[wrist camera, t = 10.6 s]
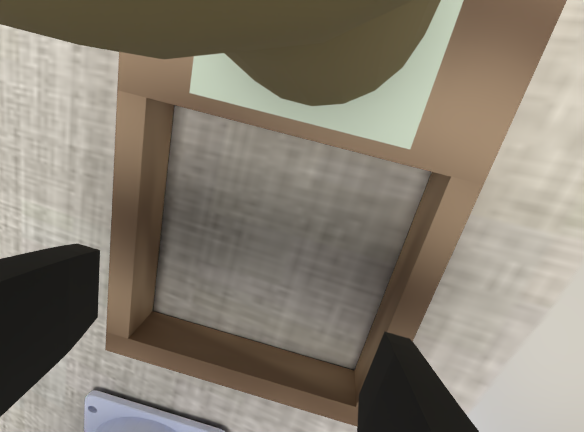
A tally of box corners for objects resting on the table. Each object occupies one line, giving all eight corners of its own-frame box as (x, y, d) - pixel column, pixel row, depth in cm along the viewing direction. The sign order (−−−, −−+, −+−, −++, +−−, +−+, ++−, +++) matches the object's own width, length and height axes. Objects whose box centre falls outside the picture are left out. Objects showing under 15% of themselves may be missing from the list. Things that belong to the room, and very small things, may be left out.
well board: (368, 392, 16) (372, 435, 14) (132, 321, 17) (102, 353, 15) (596, -148, 9) (670, -219, 7) (175, -233, 10) (130, -320, 8)
